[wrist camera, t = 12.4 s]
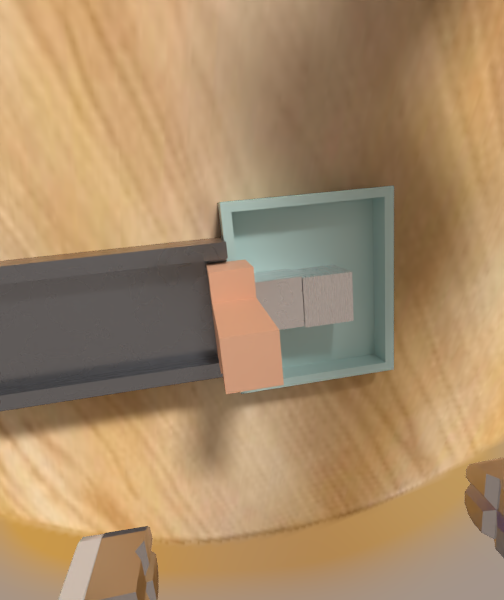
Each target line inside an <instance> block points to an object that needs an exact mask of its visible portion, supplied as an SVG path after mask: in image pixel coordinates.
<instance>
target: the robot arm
mask: <svg viewBox="0 0 504 600" xmlns="http://www.w3.org/2000/svg"><path fill="white" fill-rule="evenodd" d="M466 478H467V479H468V481H469V482H470V483H471V484H470V485H469V487H468V488H467V490H466V491H465V505H466V508H467V511H468V514H469V516H470V518H471V520H472V521H473V523H474V524H475V526H476V527H477V528H478V529H479V530H480V531H481V533H484V534H485V535H487V536H489V537H491V538H493V539H494V542H495V548H496V550H497V551H498V552H499V553H500V554H501V556H502V557H503V558H504V458H498V459H493V460H488V461H483V462H478V463H473V464H470V465H469V466H468V467H467V469H466ZM151 547H152V534H151V530H150V527H148V526H145V527H139V528H133V529H127V530H121V531H115V532H109V533H105V534H101V535H94V536H88V537H83V538H82V539H81V540H80V542H79V543H78V545H77V547H76V550H75V553H74V556H73V559H72V561H71V564H70V567H69V570H68V573H67V575H66V578H65V581H64V584H63V587H62V589H61V592H60V595H59V598H58V600H157V598H158V565H157V558H156V554H155V553H154V552H152V551H151Z"/></svg>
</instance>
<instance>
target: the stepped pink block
mask: <svg viewBox="0 0 504 600" xmlns="http://www.w3.org/2000/svg"><path fill="white" fill-rule="evenodd" d="M206 266H207V274H208V282H209V290H210V298H211V306H212V314H213V321H214V329H215V337H216V345H217V353H218V359H219V365H220V371H221V374H223V380H224V386H225V391H226V394H231V393H237V392H243V391H249V390H256V389H262V388H268V387H274V386H281V385H284V381H283V369H282V356H281V344H280V331H279V329H278V327H277V326H276V325H275V323H274V322H273V320H272V319H271V318H270V316H269V315H268V313H267V312H266V311H265V309H264V308H263V306H262V305H261V304H260V302H259V301H258V299H257V298H256V288H255V277H254V267H253V266H252V265H251V264H250V263H249V262H248V261H246V260H237V261H228V262H219V263H211V264H206Z"/></svg>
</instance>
